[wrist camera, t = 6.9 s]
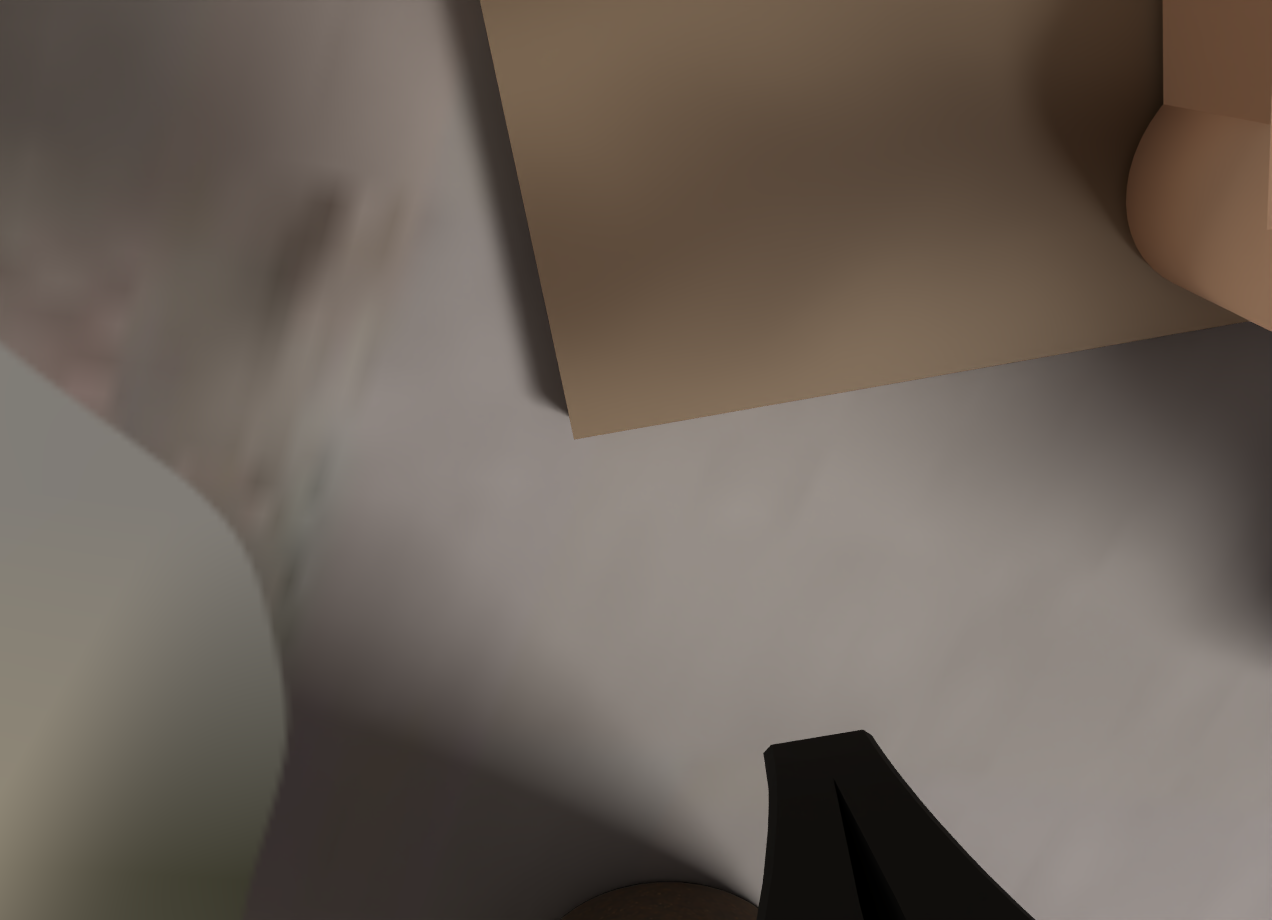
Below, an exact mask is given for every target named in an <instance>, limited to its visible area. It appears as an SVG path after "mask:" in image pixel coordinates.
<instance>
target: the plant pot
mask: <svg viewBox="0 0 1272 920" xmlns="http://www.w3.org/2000/svg"><path fill="white" fill-rule="evenodd" d="M757 914H758V908H756V907H755V906H754V905H753V904H751V903H749V902H747V901H745V900H743V899H741V898H739V897H737V896H735V895H733V894H730V893H728V892H725V891H722V890H719V889H715V888H711V887H707V886H703V885H697V884H690V883H683V882H659V883H647V884H638V885H633V886H629V887H625V888H621V889H617V890H613V891H610V892H607V893H605V894H602V895H599V896H597V897H595V898H593V899H590V900H589V901H587V902H585V903H583V904H581V905H580V906H578V907H577V908H575V909H574V910H572V911H571V912H569V913H568V914H567V915H565V916H564V917H563V918H562V919H560V920H757Z"/></svg>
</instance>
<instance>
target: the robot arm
mask: <svg viewBox="0 0 1272 920" xmlns="http://www.w3.org/2000/svg"><path fill="white" fill-rule="evenodd" d="M764 760H765V767H766V774H767V781H768V788H769V815H768V835H767V846H766V856H765V867H764V876H763V884H762V890H761V896H760V902H759V908H758V914H757V920H1035V919H1034V918H1033V917H1032V916H1031V915H1030V914H1029V913H1027V912H1026V911H1025V910H1024V909H1023V908H1022V907H1021V906H1020V905H1019V904H1018V903H1017V902H1016V901H1015V900H1014V899H1013V898H1012V897H1011V896H1010V895H1009V894H1008V893H1007V892H1005V891H1004V890H1003V889H1002V888H1001V887H1000V886H999V885H998V884H997V883H996V882H995V881H994V880H993V879H992V878H991V877H990V876H989V875H988V874H987V873H986V872H985V871H984V870H983V869H982V868H981V867H980V866H979V865H978V863H977V862H976V861H975V860H974V859H973V858H972V857H971V856H970V855H969V854H968V853H967V852H966V851H965V850H964V849H963V848H962V846H961V845H960V844H959V843H958V842H957V841H956V840H955V839H954V838H953V837H952V836H951V834H950V833H949V832H948V831H947V830H946V829H945V828H944V827H943V826H942V825H941V823H940V822H939V821H938V820H937V819H936V818H935V817H934V816H933V814H932V813H931V812H930V811H929V810H928V809H927V807H926V806H925V805H924V804H923V803H922V801H921V800H920V799H919V798H918V797H917V795H916V794H915V793H914V792H913V790H912V789H911V788H910V787H909V786H908V784H907V783H906V782H905V781H904V779H903V778H902V777H901V775H900V774H899V773H898V772H897V770H896V769H895V768H894V766H893V765H892V764H891V762H890V761H889V760H888V758H887V757H886V755H885V754H884V753H883V751H882V750H881V748H880V747H879V746H878V744H877V743H876V741H875V740H874V738H873V736H872V735H870V734H869V733H867V732H866V731H864V730H858V731H852V732H846V733H840V734H834V735H828V736H822V737H816V738H810V739H804V740H798V741H792V742H786V743H780V744H774V745H771V746H770V747H769V748H768V749H767V750H766V751H765V752H764Z"/></svg>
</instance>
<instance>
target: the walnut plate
mask: <svg viewBox="0 0 1272 920" xmlns="http://www.w3.org/2000/svg"><path fill="white" fill-rule="evenodd" d="M480 4H481V8H482V13H483V18H484V22H485V27H486V32H487V36H488V41H489V46H490V50H491V55H492V60H493V64H494V69H495V73H496V78H497V83H498V87H499V92H500V97H501V101H502V106H503V111H504V115H505V120H506V125H507V129H508V134H509V139H510V143H511V148H512V153H513V157H514V162H515V167H516V171H517V176H518V180H519V185H520V190H521V194H522V199H523V204H524V208H525V213H526V218H527V222H528V227H529V232H530V236H531V241H532V246H533V250H534V255H535V260H536V264H537V269H538V274H539V278H540V283H541V287H542V292H543V297H544V301H545V306H546V311H547V315H548V320H549V325H550V329H551V334H552V339H553V343H554V348H555V353H556V357H557V362H558V367H559V371H560V376H561V381H562V385H563V390H564V394H565V399H566V404H567V408H568V413H569V418H570V422H571V427H572V432H573V436H574V439H580V438H585V437H591V436H597V435H602V434H608V433H614V432H619V431H625V430H631V429H637V428H642V427H648V426H654V425H659V424H665V423H671V422H677V421H682V420H688V419H694V418H699V417H705V416H711V415H716V414H722V413H728V412H734V411H739V410H745V409H751V408H756V407H762V406H768V405H774V404H779V403H785V402H791V401H796V400H802V399H808V398H814V397H819V396H825V395H831V394H836V393H842V392H848V391H853V390H859V389H865V388H871V387H876V386H882V385H888V384H893V383H899V382H905V381H911V380H916V379H922V378H928V377H933V376H939V375H945V374H950V373H956V372H962V371H968V370H973V369H979V368H985V367H990V366H996V365H1002V364H1008V363H1013V362H1019V361H1025V360H1030V359H1036V358H1042V357H1048V356H1053V355H1059V354H1065V353H1070V352H1076V351H1082V350H1087V349H1093V348H1099V347H1105V346H1110V345H1116V344H1122V343H1127V342H1133V341H1139V340H1145V339H1150V338H1156V337H1162V336H1167V335H1173V334H1179V333H1184V332H1190V331H1196V330H1202V329H1207V328H1213V327H1219V326H1224V325H1230V324H1236V323H1242V322H1247V321H1249V320H1247V319H1245V318H1243V317H1241V316H1239V315H1237V314H1235V313H1233V312H1231V311H1229V310H1227V309H1225V308H1223V307H1220V306H1218V305H1216V304H1214V303H1212V302H1210V301H1208V300H1206V299H1204V298H1202V297H1200V296H1198V295H1196V294H1194V293H1192V292H1190V291H1188V290H1186V289H1184V288H1182V287H1180V286H1178V285H1176V284H1174V283H1172V282H1170V281H1169V280H1167V279H1165V278H1163V277H1162V276H1161V275H1159V274H1158V273H1157V272H1156V271H1155V270H1153V269H1152V268H1151V267H1150V265H1149V264H1148V263H1147V262H1146V261H1145V260H1144V258H1143V257H1142V255H1141V254H1140V252H1139V250H1138V249H1137V247H1136V245H1135V243H1134V240H1133V238H1132V235H1131V232H1130V228H1129V224H1128V220H1127V210H1126V190H1127V183H1128V177H1129V171H1130V168H1131V164H1132V161H1133V157H1134V154H1135V152H1136V150H1137V147H1138V145H1139V142H1140V140H1141V138H1142V136H1143V134H1144V133H1145V131H1146V129H1147V127H1148V125H1149V123H1150V122H1151V121H1152V119H1153V118H1154V116H1155V115H1156V113H1157V112H1158V110H1159V109H1160V108H1161V106H1162V105H1163V0H480Z"/></svg>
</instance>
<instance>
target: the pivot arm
mask: <svg viewBox="0 0 1272 920" xmlns="http://www.w3.org/2000/svg"><path fill="white" fill-rule="evenodd" d="M1126 210H1127V220H1128V224H1129V228H1130V232H1131V235H1132V238H1133V240H1134V243H1135V245H1136V247H1137V249H1138V250H1139V252H1140V254H1141V255H1142V257H1143V258H1144V260H1145V261H1146V262H1147V263H1148V264H1149V265H1150V267H1151V268H1152V269H1153V270H1155V271H1156V272H1157V273H1158V274H1159V275H1161V276H1162V277H1163V278H1165V279H1167V280H1169V281H1170V282H1172V283H1174V284H1176V285H1178V286H1180V287H1182V288H1184V289H1186V290H1188V291H1190V292H1192V293H1194V294H1196V295H1198V296H1200V297H1202V298H1204V299H1206V300H1208V301H1210V302H1212V303H1214V304H1216V305H1218V306H1220V307H1223V308H1225V309H1227V310H1229V311H1231V312H1233V313H1235V314H1237V315H1239V316H1241V317H1243V318H1245V319H1247V320H1249V321H1251V322H1253V323H1255V324H1257V325H1259V326H1261V327H1263V328H1265V329H1267V330H1269V331H1271V332H1272V0H1163V105H1162V106H1161V108H1160V109H1159V110H1158V112H1157V113H1156V115H1155V116H1154V118H1153V119H1152V121H1151V122H1150V123H1149V125H1148V127H1147V129H1146V131H1145V133H1144V134H1143V136H1142V138H1141V140H1140V142H1139V145H1138V147H1137V150H1136V152H1135V154H1134V157H1133V161H1132V164H1131V168H1130V171H1129V177H1128V183H1127V190H1126Z"/></svg>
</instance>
